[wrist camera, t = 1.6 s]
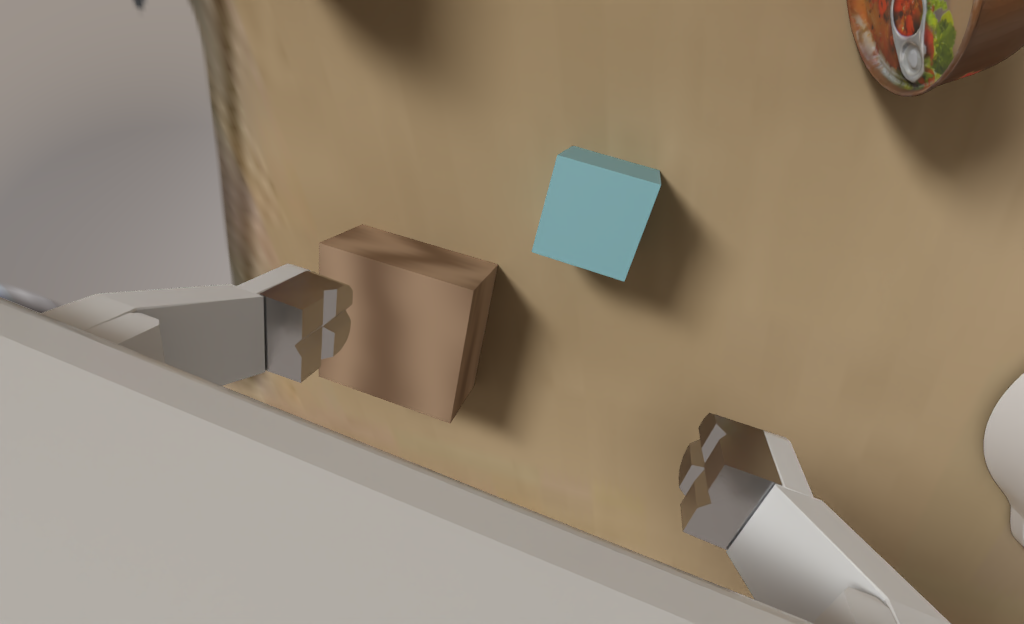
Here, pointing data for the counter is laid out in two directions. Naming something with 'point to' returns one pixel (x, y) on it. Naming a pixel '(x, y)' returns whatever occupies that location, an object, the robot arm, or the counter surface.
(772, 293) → the counter surface
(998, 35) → the tin
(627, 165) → the teal cube
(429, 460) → the counter surface
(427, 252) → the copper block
